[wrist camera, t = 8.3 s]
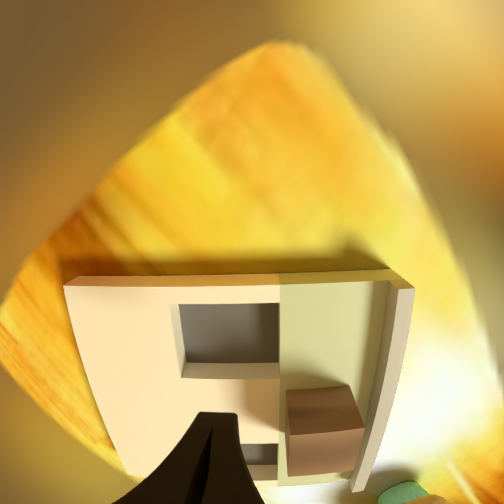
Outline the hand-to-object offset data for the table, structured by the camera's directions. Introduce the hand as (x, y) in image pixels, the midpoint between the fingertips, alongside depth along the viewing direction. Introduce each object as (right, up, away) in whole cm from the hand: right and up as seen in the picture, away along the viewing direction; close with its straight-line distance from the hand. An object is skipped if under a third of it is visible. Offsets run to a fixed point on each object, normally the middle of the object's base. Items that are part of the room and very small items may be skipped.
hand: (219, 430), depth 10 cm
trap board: (0, -4, +11) cm, 11 cm away
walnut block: (+5, -4, +8) cm, 11 cm away
